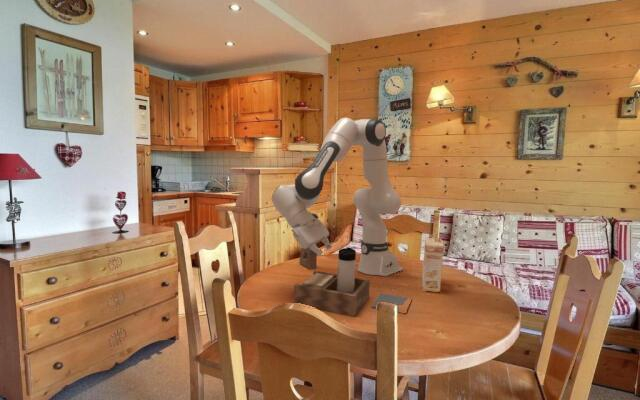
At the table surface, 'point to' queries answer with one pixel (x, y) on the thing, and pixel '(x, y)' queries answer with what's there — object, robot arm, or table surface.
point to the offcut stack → (318, 280)
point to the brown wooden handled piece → (308, 258)
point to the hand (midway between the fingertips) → (325, 251)
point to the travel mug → (346, 270)
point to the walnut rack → (333, 296)
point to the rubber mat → (390, 300)
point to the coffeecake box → (432, 264)
